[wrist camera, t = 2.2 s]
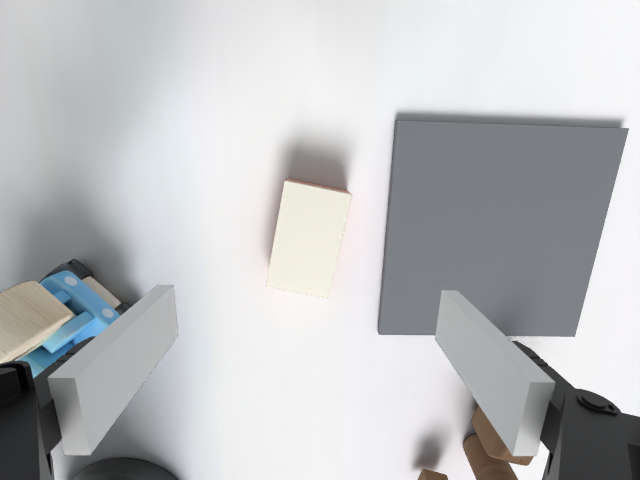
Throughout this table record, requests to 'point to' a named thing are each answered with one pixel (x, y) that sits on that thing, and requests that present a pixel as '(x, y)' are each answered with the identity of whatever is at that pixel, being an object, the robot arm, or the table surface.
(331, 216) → the card deck
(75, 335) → the toy excavator
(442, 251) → the rubber mat
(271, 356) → the table surface
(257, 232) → the table surface
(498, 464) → the wooden block set
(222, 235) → the table surface
